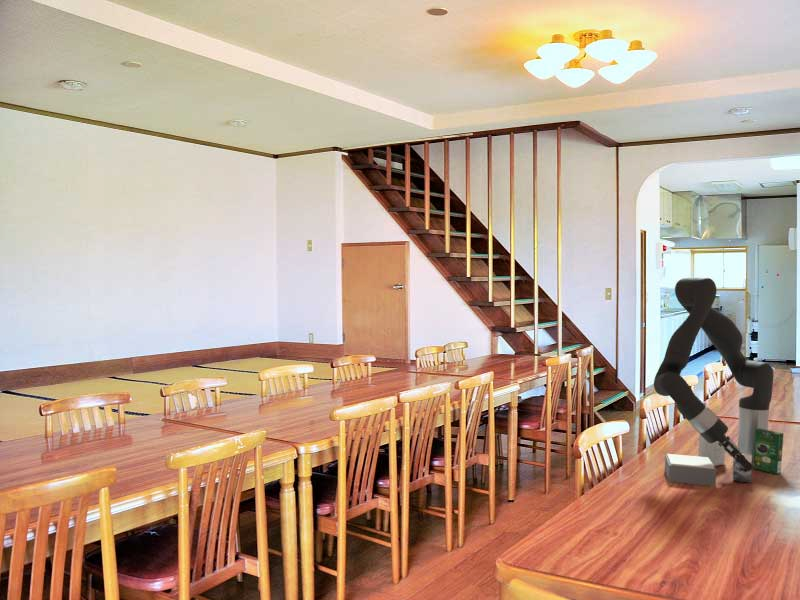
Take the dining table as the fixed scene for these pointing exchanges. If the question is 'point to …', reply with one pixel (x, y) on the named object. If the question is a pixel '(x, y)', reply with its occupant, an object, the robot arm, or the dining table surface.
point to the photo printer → (711, 451)
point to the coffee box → (768, 451)
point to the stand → (690, 469)
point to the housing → (741, 469)
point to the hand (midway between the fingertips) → (748, 466)
